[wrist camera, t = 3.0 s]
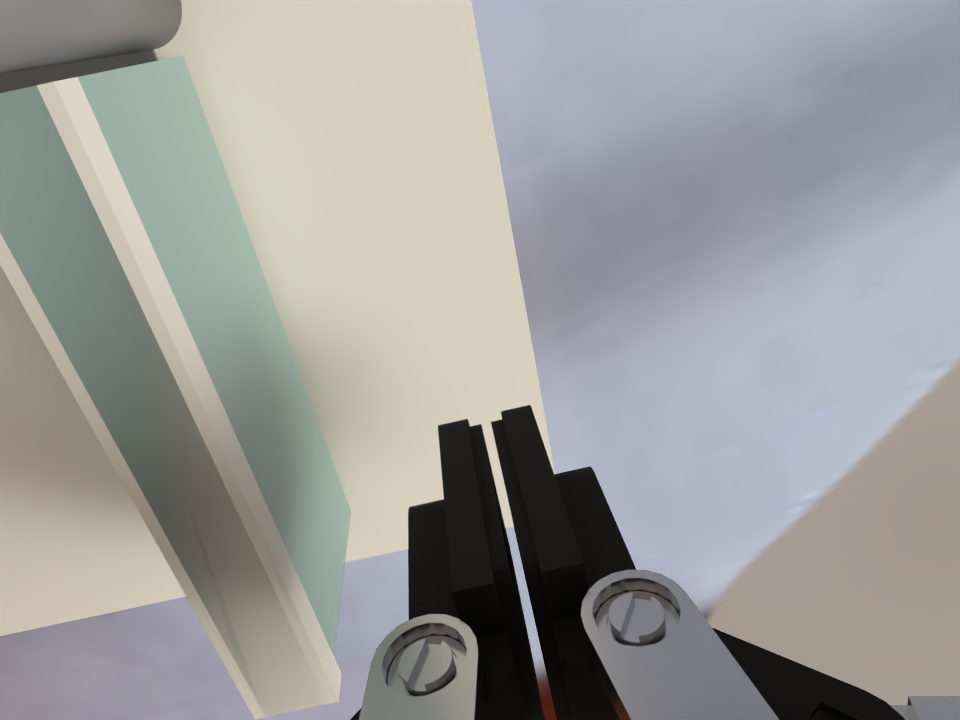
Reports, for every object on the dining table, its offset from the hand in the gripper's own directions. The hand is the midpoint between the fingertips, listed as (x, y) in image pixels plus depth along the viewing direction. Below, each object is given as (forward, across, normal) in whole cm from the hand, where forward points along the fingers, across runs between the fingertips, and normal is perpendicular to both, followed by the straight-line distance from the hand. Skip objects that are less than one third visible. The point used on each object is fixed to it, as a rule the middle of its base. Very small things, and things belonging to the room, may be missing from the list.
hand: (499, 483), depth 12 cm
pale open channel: (+4, +5, -2) cm, 7 cm away
